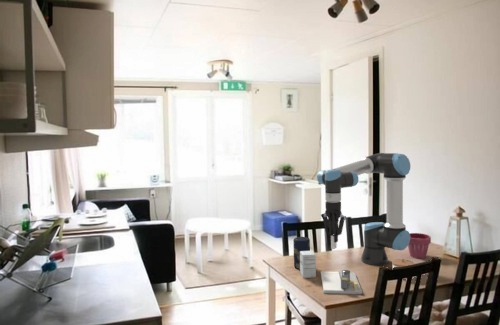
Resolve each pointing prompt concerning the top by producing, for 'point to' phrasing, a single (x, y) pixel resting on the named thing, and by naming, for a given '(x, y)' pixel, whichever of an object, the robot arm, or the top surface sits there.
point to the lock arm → (345, 279)
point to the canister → (300, 248)
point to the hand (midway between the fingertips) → (333, 248)
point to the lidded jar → (401, 263)
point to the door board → (339, 283)
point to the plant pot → (419, 245)
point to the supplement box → (307, 264)
